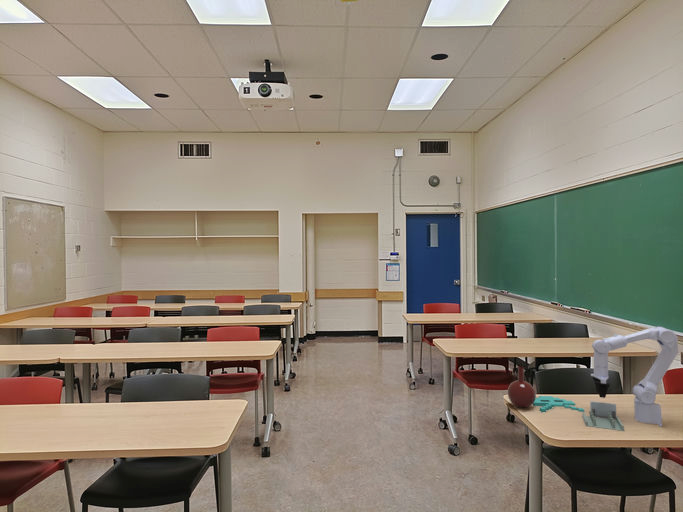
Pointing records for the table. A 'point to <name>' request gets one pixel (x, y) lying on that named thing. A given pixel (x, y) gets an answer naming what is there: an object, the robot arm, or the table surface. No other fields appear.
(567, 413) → the table surface
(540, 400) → the teal pixel shape
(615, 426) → the rack
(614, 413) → the stand
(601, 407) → the long pale grey plank
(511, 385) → the round-bottom flask
